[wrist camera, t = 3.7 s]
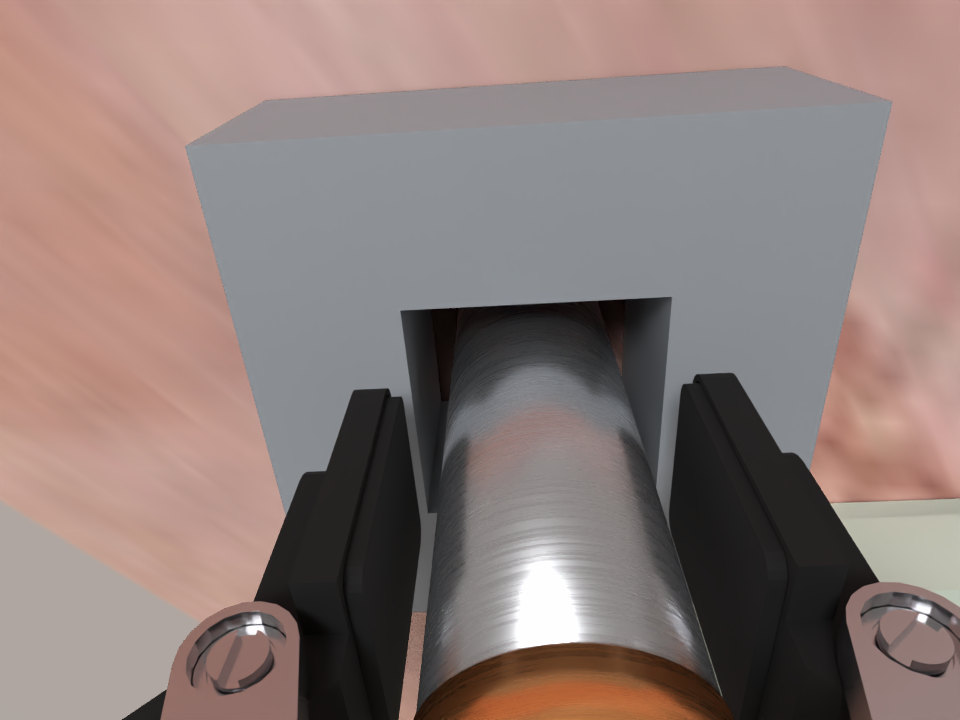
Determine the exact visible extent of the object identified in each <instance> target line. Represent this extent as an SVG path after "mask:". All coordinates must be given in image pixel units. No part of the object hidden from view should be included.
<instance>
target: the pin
mask: <svg viewBox="0 0 960 720" xmlns="http://www.w3.org/2000/svg"><path fill="white" fill-rule="evenodd" d="M414 720H734V718H733V715H732V712H731V709H730V708H729V706H728V705H727V703H726V702H725V700H724V698H723V697H722V696H721V693H720V690H719V686H718V683H717V680H716V677H715V674H714V670H713V667H712V664H711V661H710V658H709V655H708V651H707V648H706V645H705V642H704V639H703V635H702V632H701V629H700V626H699V623H698V620H697V616H696V613H695V610H694V607H693V604H692V600H691V597H690V594H689V591H688V588H687V584H686V581H685V578H684V575H683V572H682V569H681V565H680V562H679V559H678V556H677V553H676V549H675V546H674V543H673V540H672V537H671V534H670V530H669V527H668V524H667V521H666V518H665V514H664V511H663V508H662V505H661V502H660V499H659V495H658V492H657V489H656V486H655V483H654V479H653V476H652V473H651V470H650V467H649V464H648V460H647V457H646V454H645V451H644V448H643V444H642V441H641V438H640V435H639V432H638V429H637V425H636V422H635V419H634V416H633V413H632V409H631V406H630V403H629V400H628V397H627V394H626V390H625V387H624V384H623V381H622V378H621V374H620V371H619V368H618V365H617V362H616V358H615V355H614V352H613V349H612V346H611V343H610V339H609V336H608V333H607V330H606V327H605V323H604V320H603V317H602V314H601V311H600V308H599V304H598V301H579V302H559V303H540V304H520V305H500V306H481V307H461V308H459V310H458V319H457V329H456V338H455V348H454V357H453V367H452V377H451V386H450V396H449V405H448V415H447V424H446V434H445V444H444V453H443V463H442V472H441V482H440V491H439V501H438V510H437V520H436V530H435V539H434V549H433V558H432V568H431V577H430V587H429V597H428V606H427V616H426V625H425V635H424V644H423V654H422V664H421V673H420V683H419V692H418V702H417V711H416V715H415V717H414Z"/></svg>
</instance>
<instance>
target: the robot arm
mask: <svg viewBox="0 0 960 720" xmlns="http://www.w3.org/2000/svg"><path fill="white" fill-rule="evenodd" d="M669 525H670V531H671V535H672V538H673V542H674V545H675V548H676V551H677V554H678V557H679V561H680V564H681V567H682V570H683V573H684V576H685V580H686V583H687V586H688V589H689V592H690V595H691V599H692V602H693V605H694V608H695V611H696V614H697V617H698V621H699V624H700V627H701V630H702V633H703V636H704V640H705V643H706V646H707V649H708V652H709V655H710V659H711V662H712V665H713V668H714V671H715V674H716V678H717V681H718V684H719V687H720V690H721V693H722V697H723V698H724V700H725V702H726V703H727V705H728V706H729V708H730V709H731V712H732V715H733V718H734V720H960V607H959V606H957V605H956V604H954V603H953V602H951V601H949V600H948V599H946V598H945V597H943V596H941V595H938V594H936V593H934V592H931V591H929V590H926V589H924V588H922V587H918V586H913V585H909V584H904V583H900V582H879V580H878V578H877V577H876V575H875V574H874V572H873V571H872V569H871V567H870V566H869V564H868V563H867V561H866V559H865V558H864V556H863V555H862V553H861V552H860V550H859V548H858V547H857V545H856V544H855V542H854V541H853V539H852V537H851V536H850V534H849V533H848V531H847V529H846V528H845V526H844V525H843V523H842V522H841V520H840V518H839V517H838V515H837V514H836V512H835V511H834V509H833V507H832V506H831V504H830V503H829V501H828V499H827V498H826V496H825V495H824V493H823V492H822V490H821V488H820V487H819V485H818V484H817V482H816V480H815V479H814V477H813V476H812V474H811V473H810V471H809V469H808V468H807V466H806V465H805V463H804V462H803V460H802V459H801V458H800V457H799V456H798V455H797V454H795V453H793V452H789V453H782V452H781V450H780V448H779V447H778V445H777V443H776V442H775V440H774V438H773V437H772V435H771V433H770V432H769V430H768V428H767V427H766V425H765V423H764V422H763V420H762V418H761V417H760V415H759V413H758V412H757V410H756V408H755V407H754V405H753V403H752V402H751V400H750V398H749V397H748V395H747V393H746V392H745V390H744V388H743V387H742V385H741V383H740V382H739V380H738V378H737V377H736V375H735V374H734V373H711V374H696V375H695V376H694V379H693V383H690V384H683V385H682V388H681V393H680V403H679V414H678V424H677V434H676V444H675V454H674V465H673V475H672V485H671V495H670V506H669ZM420 545H421V521H420V513H419V506H418V499H417V492H416V485H415V478H414V471H413V464H412V457H411V450H410V443H409V436H408V429H407V422H406V416H405V409H404V402H403V399H402V397H401V396H400V397H391V393H390V390H389V389H388V388H381V389H359V390H353V392H352V395H351V398H350V401H349V404H348V407H347V410H346V413H345V416H344V419H343V422H342V425H341V428H340V430H339V433H338V436H337V439H336V442H335V445H334V448H333V451H332V454H331V457H330V460H329V463H328V466H327V469H326V471H313V472H306V473H304V474H303V475H302V477H301V479H300V481H299V483H298V486H297V489H296V491H295V494H294V496H293V499H292V502H291V504H290V507H289V510H288V512H287V515H286V517H285V520H284V523H283V525H282V528H281V531H280V533H279V536H278V538H277V541H276V544H275V546H274V549H273V552H272V554H271V557H270V560H269V562H268V565H267V567H266V570H265V573H264V575H263V578H262V581H261V583H260V586H259V588H258V591H257V594H256V596H255V599H254V602H245V603H240V604H237V605H234V606H231V607H228V608H224V609H222V610H221V611H219V612H217V613H215V614H214V615H212V616H210V617H208V618H206V619H205V620H204V621H203V622H202V623H201V624H199V625H198V626H197V627H196V628H195V629H194V630H192V631H191V632H190V634H189V635H188V636H187V638H186V639H185V640H184V642H183V643H182V644H181V646H180V647H179V649H178V651H177V654H176V657H175V659H174V662H173V665H172V669H171V673H170V678H169V683H168V688H167V690H165V691H164V692H162V693H161V694H159V695H158V696H156V697H155V698H153V699H152V700H150V701H149V702H147V703H146V704H145V705H143V706H141V707H140V708H139V709H137V710H136V711H134V712H133V713H131V714H130V715H128V716H127V717H126V718H124V719H122V720H398V719H399V711H400V703H401V695H402V687H403V679H404V671H405V664H406V656H407V648H408V640H409V632H410V624H411V616H412V608H413V601H414V593H415V585H416V577H417V569H418V561H419V553H420Z"/></svg>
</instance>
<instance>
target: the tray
mask: <svg viewBox="0 0 960 720" xmlns="http://www.w3.org/2000/svg"><path fill="white" fill-rule="evenodd" d="M830 504H831V506H832V507H833V509H834V511H835V512H836V514H837V515H838V517H839V518H840V520H841V522H842V523H843V525H844V526H845V528H846V529H847V531H848V533H849V534H850V536H851V537H852V539H853V541H854V542H855V544H856V545H857V547H858V548H859V550H860V552H861V553H862V555H863V556H864V558H865V559H866V561H867V563H868V564H869V566H870V567H871V569H872V571H873V572H874V574H875V575H876V577H877V578H878V580H879V582H900V583H904V584H909V585H913V586H918V587H922V588H924V589H926V590H929V591H931V592H934V593H936V594H938V595H941V596H943V597H945V598H946V599H948V600H949V601H951V602H953V603H954V604H956V605H957V606H959V607H960V499H934V500H907V501H879V502H852V503H830ZM693 607H694V605H693ZM694 610H695V608H694ZM695 613H696V611H695ZM696 616H697V614H696ZM697 620H698V617H697ZM698 623H699V621H698ZM699 626H700V624H699ZM700 629H701V627H700ZM701 632H702V630H701ZM702 635H703V633H702ZM703 639H704V636H703ZM704 642H705V640H704ZM705 645H706V643H705ZM706 648H707V646H706ZM707 651H708V649H707ZM708 655H709V652H708ZM709 658H710V655H709ZM710 661H711V659H710ZM711 664H712V662H711ZM712 667H713V665H712ZM713 670H714V668H713ZM714 674H715V671H714ZM715 677H716V674H715ZM716 680H717V678H716ZM717 683H718V681H717ZM718 686H719V684H718ZM719 690H720V687H719ZM720 693H721V690H720ZM721 696H722V693H721Z"/></svg>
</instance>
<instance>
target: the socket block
mask: <svg viewBox="0 0 960 720" xmlns="http://www.w3.org/2000/svg"><path fill="white" fill-rule="evenodd" d="M891 106H892V101H890V100H886V99H883V98H880V97H877V96H874V95H871V94H868V93H865V92H862V91H859V90H856V89H853V88H850V87H847V86H844V85H840V84H837V83H834V82H831V81H828V80H825V79H822V78H819V77H816V76H813V75H810V74H807V73H804V72H801V71H798V70H794V69H791V68H788V67H785V66H782V67H767V68H751V69H736V70H721V71H706V72H691V73H676V74H660V75H645V76H630V77H615V78H600V79H585V80H569V81H554V82H539V83H524V84H509V85H494V86H478V87H463V88H448V89H433V90H418V91H403V92H387V93H372V94H357V95H342V96H327V97H312V98H296V99H281V100H266V101H264V102H262V103H260V104H258V105H257V106H255V107H253V108H251V109H250V110H248V111H246V112H244V113H243V114H241V115H239V116H237V117H235V118H234V119H232V120H230V121H228V122H227V123H225V124H223V125H221V126H220V127H218V128H216V129H214V130H213V131H211V132H209V133H207V134H206V135H204V136H202V137H200V138H198V139H197V140H195V141H193V142H191V143H190V144H188V145H186V146H185V148H186V151H187V155H188V159H189V162H190V166H191V170H192V173H193V177H194V181H195V184H196V188H197V192H198V195H199V199H200V203H201V206H202V210H203V214H204V217H205V221H206V225H207V228H208V232H209V236H210V239H211V243H212V247H213V250H214V254H215V258H216V261H217V265H218V269H219V272H220V276H221V280H222V283H223V287H224V291H225V294H226V298H227V302H228V305H229V309H230V313H231V316H232V320H233V324H234V327H235V331H236V335H237V338H238V342H239V346H240V349H241V353H242V357H243V360H244V364H245V368H246V371H247V375H248V379H249V382H250V386H251V390H252V393H253V397H254V401H255V404H256V408H257V412H258V415H259V419H260V423H261V426H262V430H263V434H264V437H265V441H266V444H267V448H268V452H269V455H270V459H271V463H272V466H273V470H274V474H275V477H276V481H277V485H278V488H279V492H280V496H281V499H282V503H283V507H284V510H285V514H286V515H287V512H288V510H289V507H290V504H291V502H292V499H293V496H294V494H295V491H296V489H297V486H298V483H299V481H300V479H301V477H302V475H303V474H304V473H306V472H313V471H326V469H327V466H328V463H329V460H330V457H331V454H332V451H333V448H334V445H335V442H336V439H337V436H338V433H339V430H340V428H341V425H342V422H343V419H344V416H345V413H346V410H347V407H348V404H349V401H350V398H351V395H352V392H353V390H359V389H381V388H388V389H389V390H390V393H391V397H400V396H401V397H402V399H403V402H404V409H405V416H406V422H407V429H408V436H409V443H410V450H411V457H412V464H413V471H414V478H415V485H416V492H417V499H418V506H419V513H420V521H421V545H420V553H419V561H418V569H417V577H416V585H415V593H414V601H413V608H412V612H427V606H428V597H429V587H430V577H431V568H432V558H433V549H434V539H435V530H436V520H437V510H438V501H439V491H440V482H441V472H442V463H443V453H444V444H445V434H446V424H447V415H448V405H449V401H441V394H440V385H439V376H438V367H437V358H436V349H435V340H434V331H433V322H432V313H431V309H441V308H461V307H481V306H500V305H520V304H540V303H559V302H579V301H599V300H618V299H625V315H624V336H623V358H622V381H623V384H624V387H625V390H626V394H627V397H628V400H629V403H630V406H631V409H632V413H633V416H634V419H635V422H636V425H637V429H638V432H639V435H640V438H641V441H642V444H643V448H644V451H645V454H646V457H647V460H648V464H649V467H650V470H651V473H652V476H653V479H654V483H655V486H656V489H657V492H658V495H659V499H660V502H661V505H662V508H663V511H664V514H665V518H666V521H667V524H668V527H669V530H670V525H669V506H670V495H671V485H672V475H673V465H674V454H675V444H676V434H677V424H678V414H679V403H680V393H681V388H682V385H683V384H690V383H693V379H694V376H695V375H696V374H711V373H734V374H735V375H736V377H737V378H738V380H739V382H740V383H741V385H742V387H743V388H744V390H745V392H746V393H747V395H748V397H749V398H750V400H751V402H752V403H753V405H754V407H755V408H756V410H757V412H758V413H759V415H760V417H761V418H762V420H763V422H764V423H765V425H766V427H767V428H768V430H769V432H770V433H771V435H772V437H773V438H774V440H775V442H776V443H777V445H778V447H779V448H780V450H781V452H782V453H789V452H793V453H795V454H797V455H798V456H799V457H800V458H801V459H802V460H803V462H804V463H805V465H806V466H807V468H808V469H809V471H810V466H811V462H812V457H813V453H814V448H815V444H816V440H817V435H818V431H819V426H820V422H821V417H822V413H823V408H824V404H825V400H826V395H827V391H828V386H829V382H830V377H831V373H832V368H833V364H834V359H835V355H836V351H837V346H838V342H839V337H840V333H841V328H842V324H843V319H844V315H845V310H846V306H847V302H848V297H849V293H850V288H851V284H852V279H853V275H854V270H855V266H856V261H857V257H858V253H859V248H860V244H861V239H862V235H863V230H864V226H865V221H866V217H867V212H868V208H869V204H870V199H871V195H872V190H873V186H874V181H875V177H876V172H877V168H878V164H879V159H880V155H881V150H882V146H883V141H884V137H885V132H886V128H887V123H888V119H889V115H890V110H891ZM670 534H671V531H670ZM671 537H672V535H671ZM672 540H673V538H672ZM673 543H674V542H673ZM674 546H675V545H674ZM675 549H676V548H675ZM676 553H677V551H676ZM677 556H678V554H677ZM678 559H679V557H678ZM679 562H680V561H679ZM680 565H681V564H680ZM681 569H682V567H681ZM682 572H683V570H682ZM683 575H684V573H683ZM684 578H685V576H684ZM685 581H686V580H685ZM686 584H687V583H686ZM687 588H688V586H687ZM688 591H689V589H688ZM689 594H690V592H689ZM690 597H691V595H690ZM691 600H692V599H691ZM692 604H693V602H692Z"/></svg>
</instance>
